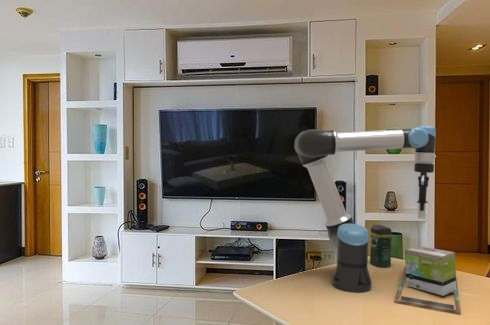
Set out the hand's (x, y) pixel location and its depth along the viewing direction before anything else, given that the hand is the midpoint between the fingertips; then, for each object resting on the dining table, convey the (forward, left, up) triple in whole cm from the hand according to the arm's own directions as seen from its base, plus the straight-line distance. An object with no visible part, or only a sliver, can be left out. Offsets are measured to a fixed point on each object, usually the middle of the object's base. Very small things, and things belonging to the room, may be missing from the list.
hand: (421, 218), depth 163 cm
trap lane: (+3, -13, -25) cm, 28 cm away
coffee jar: (-18, +10, -25) cm, 32 cm away
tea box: (+5, -16, -25) cm, 30 cm away
